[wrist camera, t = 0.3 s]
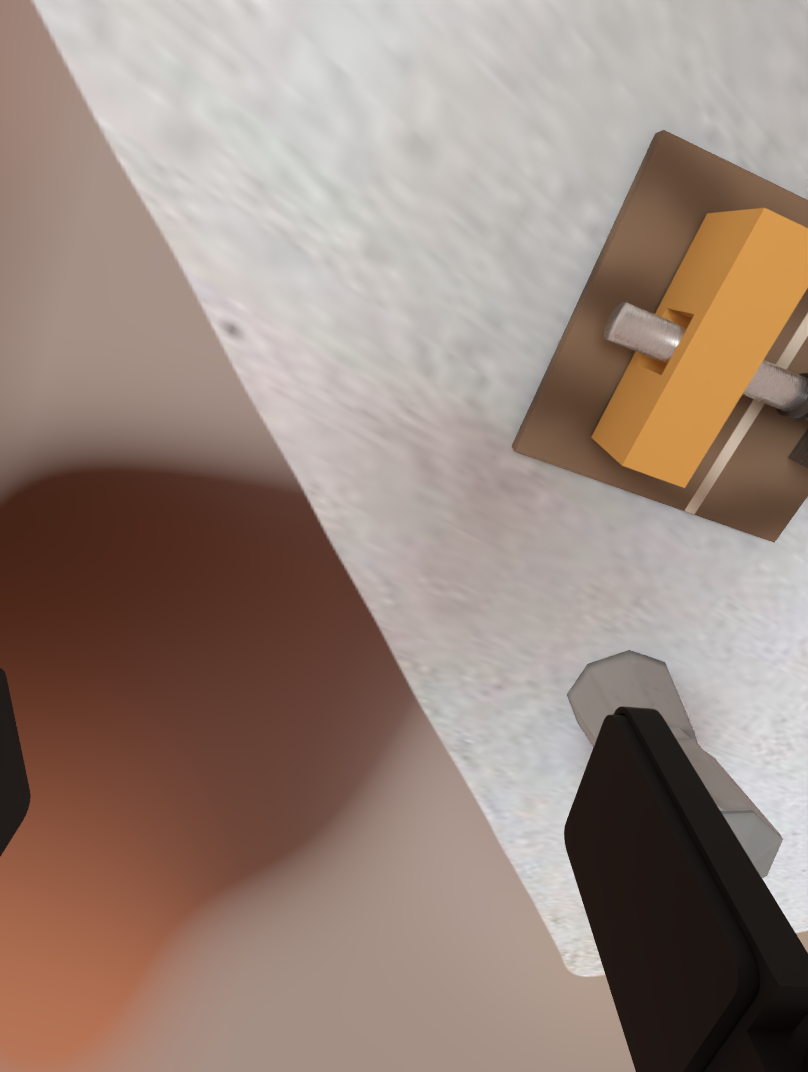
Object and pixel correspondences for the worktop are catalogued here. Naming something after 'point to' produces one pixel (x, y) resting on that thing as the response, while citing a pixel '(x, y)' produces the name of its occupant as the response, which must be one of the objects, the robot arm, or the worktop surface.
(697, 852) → the robot arm
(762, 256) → the collar
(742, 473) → the pipe board
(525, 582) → the worktop surface
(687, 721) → the coffee maker
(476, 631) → the worktop surface
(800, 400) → the grey block with rod
